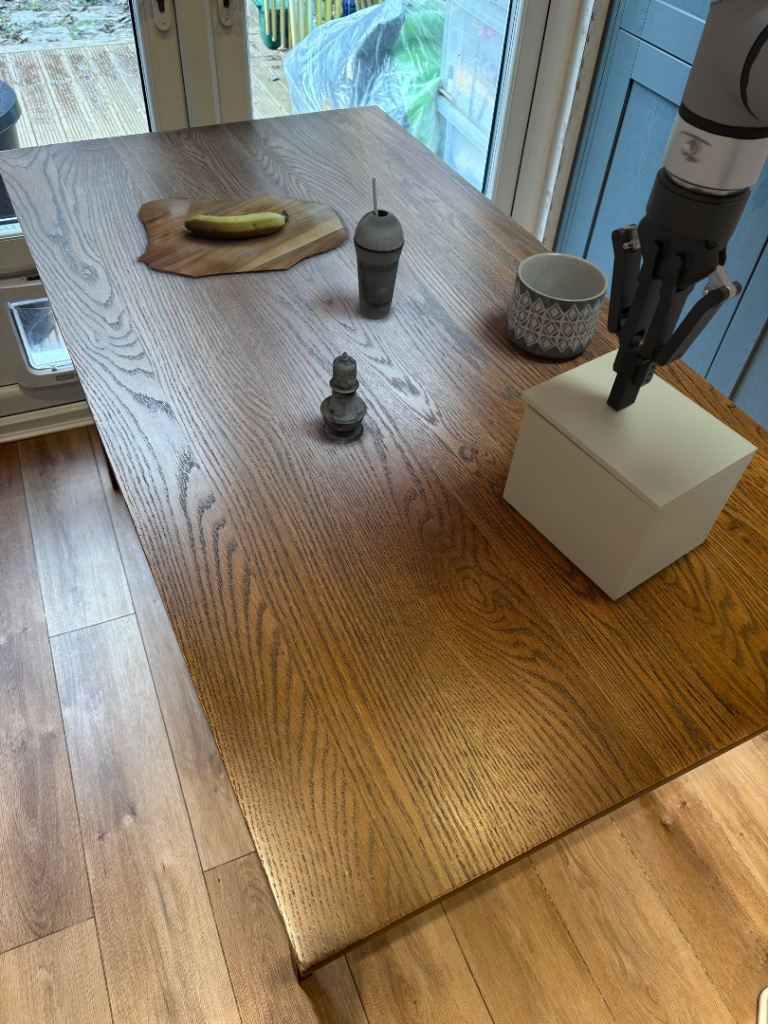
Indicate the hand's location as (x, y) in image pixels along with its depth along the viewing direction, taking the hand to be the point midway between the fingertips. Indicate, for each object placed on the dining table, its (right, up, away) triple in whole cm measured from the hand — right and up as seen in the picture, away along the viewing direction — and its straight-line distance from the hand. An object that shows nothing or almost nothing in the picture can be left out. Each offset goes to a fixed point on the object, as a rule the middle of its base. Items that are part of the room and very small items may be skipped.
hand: (620, 402), depth 78 cm
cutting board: (-49, +36, +50) cm, 79 cm away
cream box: (+1, -12, +10) cm, 16 cm away
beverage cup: (-26, +19, +36) cm, 49 cm away
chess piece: (-30, -1, +18) cm, 35 cm away
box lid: (+1, -2, 0) cm, 3 cm away
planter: (0, +14, +34) cm, 37 cm away
